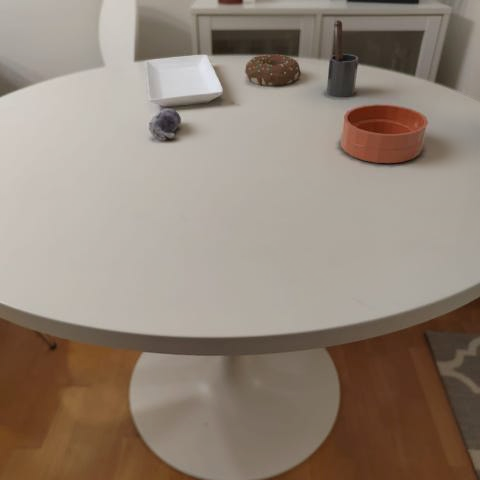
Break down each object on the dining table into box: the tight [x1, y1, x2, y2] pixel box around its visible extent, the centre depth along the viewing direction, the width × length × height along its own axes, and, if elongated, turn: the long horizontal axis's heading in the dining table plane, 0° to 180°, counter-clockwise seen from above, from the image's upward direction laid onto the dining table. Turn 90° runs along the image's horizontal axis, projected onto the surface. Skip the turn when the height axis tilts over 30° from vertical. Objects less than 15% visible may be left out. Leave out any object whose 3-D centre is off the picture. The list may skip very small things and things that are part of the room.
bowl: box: [340, 104, 429, 164], centre depth 82 cm, size 14×14×6 cm
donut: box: [244, 53, 302, 87], centre depth 113 cm, size 14×14×5 cm
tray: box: [144, 54, 224, 108], centre depth 112 cm, size 17×31×4 cm, turn 10°
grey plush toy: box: [148, 107, 182, 142], centre depth 91 cm, size 5×5×10 cm
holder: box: [326, 53, 359, 98], centre depth 103 cm, size 6×6×8 cm
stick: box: [333, 20, 344, 61], centre depth 99 cm, size 2×2×16 cm
